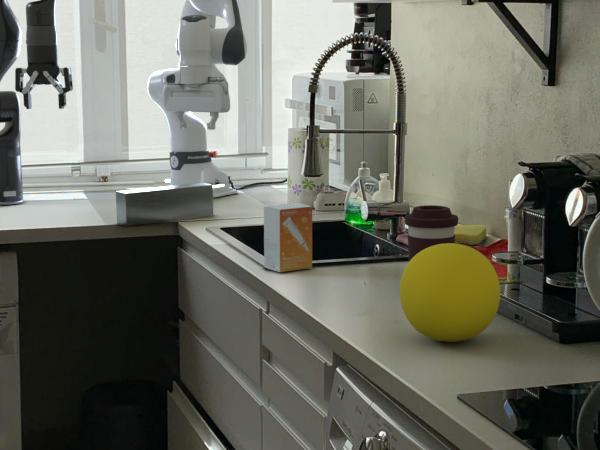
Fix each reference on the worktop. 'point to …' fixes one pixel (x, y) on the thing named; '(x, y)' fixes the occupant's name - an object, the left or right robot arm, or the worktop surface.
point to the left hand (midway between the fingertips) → (45, 108)
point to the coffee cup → (429, 227)
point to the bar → (164, 204)
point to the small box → (288, 237)
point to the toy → (450, 292)
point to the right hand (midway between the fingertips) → (197, 129)
